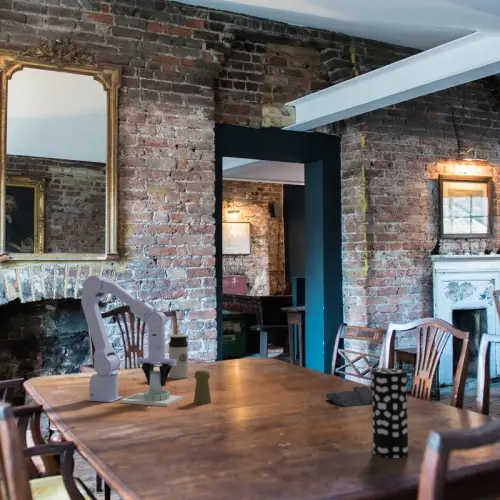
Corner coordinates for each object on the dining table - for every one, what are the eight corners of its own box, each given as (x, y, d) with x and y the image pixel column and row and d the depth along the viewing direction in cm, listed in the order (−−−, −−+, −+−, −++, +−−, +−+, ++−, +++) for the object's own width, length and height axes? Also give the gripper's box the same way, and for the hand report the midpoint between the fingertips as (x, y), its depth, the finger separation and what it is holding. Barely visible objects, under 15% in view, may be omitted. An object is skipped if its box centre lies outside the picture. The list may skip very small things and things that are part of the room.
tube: (145, 392, 208) (146, 371, 209) (153, 390, 213) (154, 370, 214) (158, 393, 207) (159, 372, 208) (165, 391, 211) (166, 371, 212)
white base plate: (120, 402, 208) (120, 394, 209) (137, 395, 220) (137, 387, 220) (166, 406, 202) (166, 397, 203) (182, 399, 214) (182, 390, 214)
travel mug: (166, 376, 259) (166, 334, 260) (184, 375, 263) (184, 333, 263) (172, 379, 252) (172, 336, 253) (190, 378, 256) (190, 335, 256)
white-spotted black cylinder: (369, 448, 152) (367, 368, 153) (401, 447, 153) (400, 367, 153) (379, 458, 144) (377, 374, 144) (413, 457, 144) (411, 373, 145)
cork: (208, 404, 204) (208, 371, 205) (191, 404, 205) (191, 371, 206) (213, 400, 210) (213, 369, 211) (196, 400, 211) (196, 368, 212)
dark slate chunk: (320, 399, 212) (320, 386, 213) (375, 395, 219) (375, 382, 220) (340, 409, 198) (340, 394, 198) (399, 403, 205) (398, 389, 205)
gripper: (132, 347, 210) (132, 386, 209) (169, 348, 205) (170, 388, 204) (142, 344, 216) (142, 382, 216) (179, 345, 212) (179, 385, 211)
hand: (156, 385), depth 211 cm, fingers closed on tube, 4 cm apart
